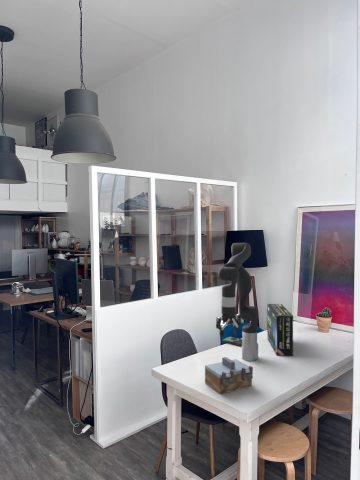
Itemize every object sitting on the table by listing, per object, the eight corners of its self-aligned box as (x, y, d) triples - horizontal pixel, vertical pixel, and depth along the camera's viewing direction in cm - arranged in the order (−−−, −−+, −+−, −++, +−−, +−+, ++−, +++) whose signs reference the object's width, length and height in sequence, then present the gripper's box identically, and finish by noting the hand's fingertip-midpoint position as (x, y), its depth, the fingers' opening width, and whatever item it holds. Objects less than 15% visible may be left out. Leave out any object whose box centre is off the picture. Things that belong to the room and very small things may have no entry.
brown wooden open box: (235, 376, 201) (235, 356, 200) (254, 387, 186) (254, 366, 186) (205, 383, 191) (205, 362, 191) (222, 395, 177) (222, 373, 177)
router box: (266, 339, 268) (266, 303, 267) (281, 339, 267) (281, 303, 266) (276, 356, 232) (276, 315, 231) (293, 356, 232) (294, 315, 231)
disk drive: (247, 344, 258) (229, 339, 268) (247, 340, 258) (229, 335, 268) (240, 347, 250) (221, 343, 260) (240, 343, 250) (221, 339, 260)
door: (236, 362, 200) (236, 352, 200) (254, 372, 186) (254, 362, 186) (205, 368, 191) (205, 358, 191) (221, 379, 177) (222, 369, 177)
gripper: (235, 302, 196) (235, 331, 197) (213, 305, 189) (213, 335, 190) (244, 304, 189) (243, 335, 190) (221, 307, 183) (221, 339, 183)
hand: (228, 335), depth 190 cm, fingers open, 8 cm apart
